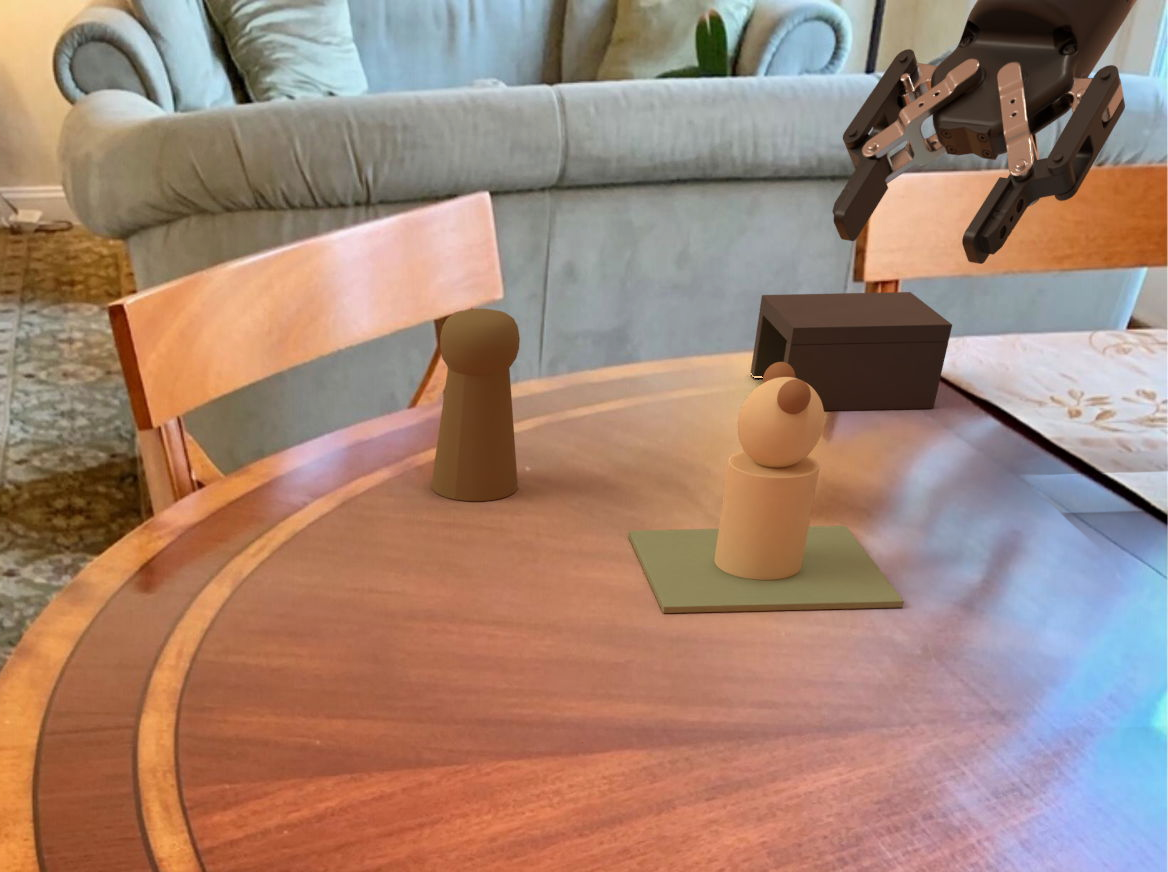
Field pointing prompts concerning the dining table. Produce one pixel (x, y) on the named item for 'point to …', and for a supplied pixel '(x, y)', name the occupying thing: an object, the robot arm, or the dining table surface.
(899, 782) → the dining table surface
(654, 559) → the mat
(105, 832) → the dining table surface
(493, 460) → the brown pepper mill
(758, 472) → the toy bear
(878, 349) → the brown u-shaped bridge
